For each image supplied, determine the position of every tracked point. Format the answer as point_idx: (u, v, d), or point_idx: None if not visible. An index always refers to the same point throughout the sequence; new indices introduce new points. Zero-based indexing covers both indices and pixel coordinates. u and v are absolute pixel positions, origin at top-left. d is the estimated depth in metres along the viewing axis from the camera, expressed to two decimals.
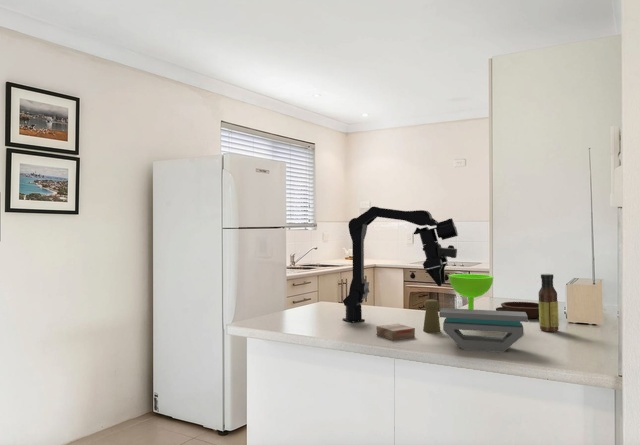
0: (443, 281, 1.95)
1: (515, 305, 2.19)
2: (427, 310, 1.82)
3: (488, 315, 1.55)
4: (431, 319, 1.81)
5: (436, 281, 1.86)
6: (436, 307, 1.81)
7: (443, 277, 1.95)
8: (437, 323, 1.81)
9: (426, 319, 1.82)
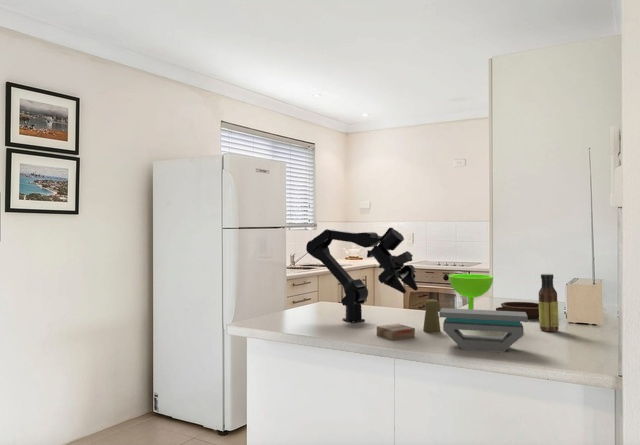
0: (415, 288, 1.92)
1: (515, 305, 2.19)
2: (427, 310, 1.82)
3: (488, 315, 1.55)
4: (431, 319, 1.81)
5: (399, 289, 1.85)
6: (436, 307, 1.81)
7: (414, 284, 1.92)
8: (437, 323, 1.81)
9: (426, 319, 1.82)
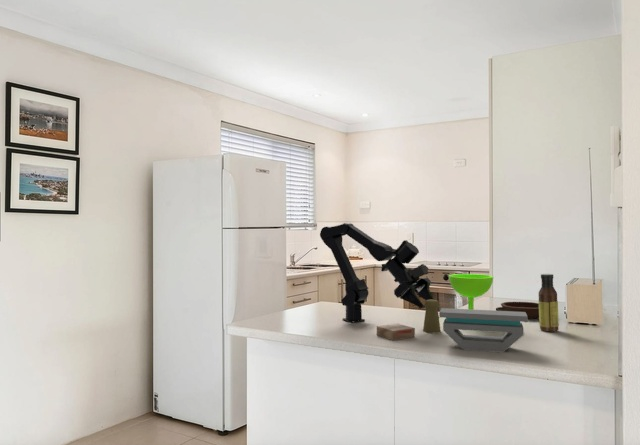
0: None
1: (515, 305, 2.19)
2: (427, 310, 1.82)
3: (488, 315, 1.55)
4: (431, 319, 1.81)
5: (416, 304, 1.81)
6: (436, 307, 1.81)
7: (430, 298, 1.88)
8: (437, 323, 1.81)
9: (426, 319, 1.82)
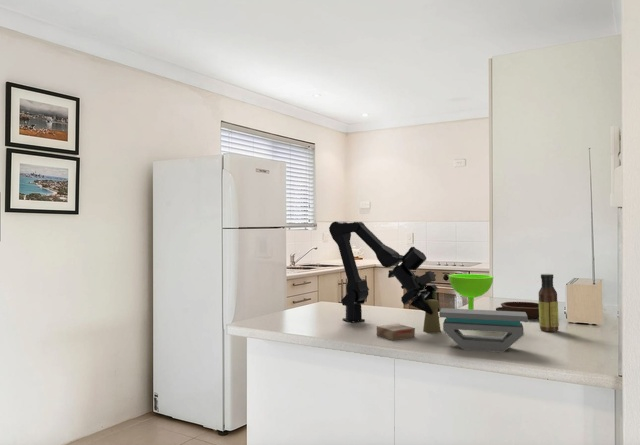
0: None
1: (515, 305, 2.19)
2: None
3: (488, 315, 1.55)
4: (431, 319, 1.81)
5: (426, 310, 1.81)
6: (436, 307, 1.81)
7: None
8: (437, 323, 1.81)
9: (426, 319, 1.82)
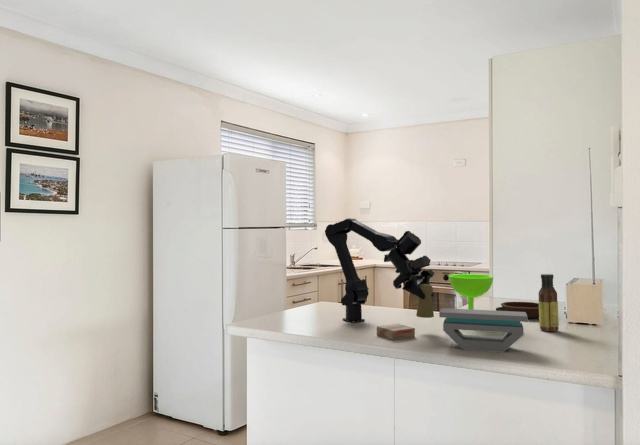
0: (431, 294, 1.82)
1: (515, 305, 2.19)
2: None
3: (488, 315, 1.55)
4: (424, 304, 1.79)
5: (418, 295, 1.79)
6: (429, 292, 1.79)
7: None
8: (430, 308, 1.79)
9: (419, 304, 1.80)
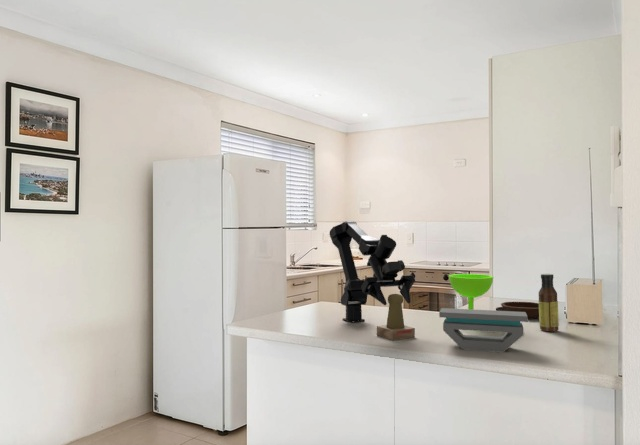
0: (408, 300, 1.76)
1: (515, 305, 2.19)
2: (389, 304, 1.75)
3: (488, 315, 1.55)
4: (391, 314, 1.73)
5: (381, 301, 1.74)
6: (396, 302, 1.73)
7: (407, 296, 1.77)
8: (397, 319, 1.73)
9: (388, 314, 1.75)
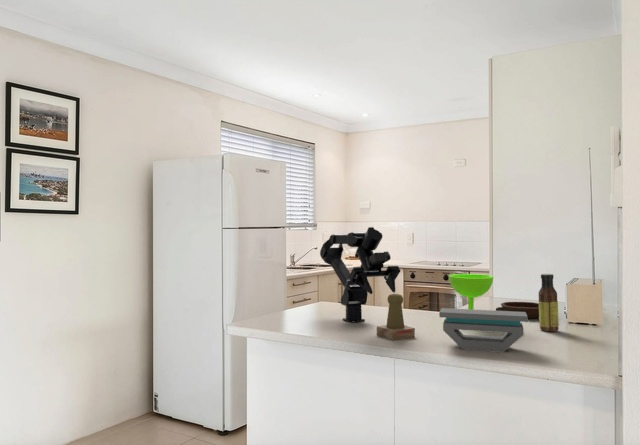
0: (393, 290, 1.85)
1: (515, 305, 2.19)
2: (389, 305, 1.75)
3: (488, 315, 1.55)
4: (391, 314, 1.73)
5: (367, 290, 1.82)
6: (396, 302, 1.73)
7: (392, 286, 1.85)
8: (397, 319, 1.73)
9: (388, 314, 1.75)
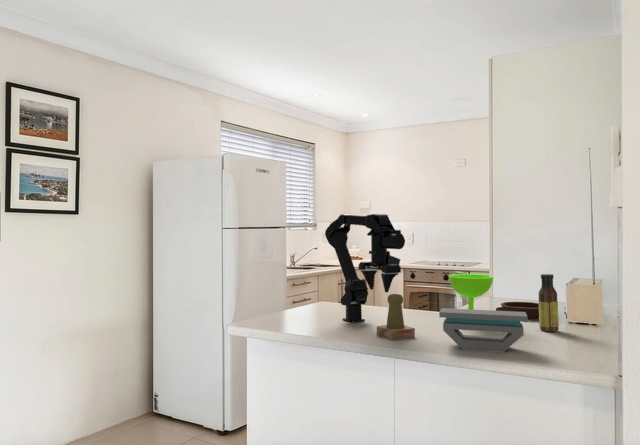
0: (372, 287, 1.95)
1: (515, 305, 2.19)
2: (389, 305, 1.75)
3: (488, 315, 1.55)
4: (391, 314, 1.73)
5: (386, 287, 1.87)
6: (396, 302, 1.73)
7: (373, 283, 1.96)
8: (397, 319, 1.73)
9: (388, 314, 1.75)
